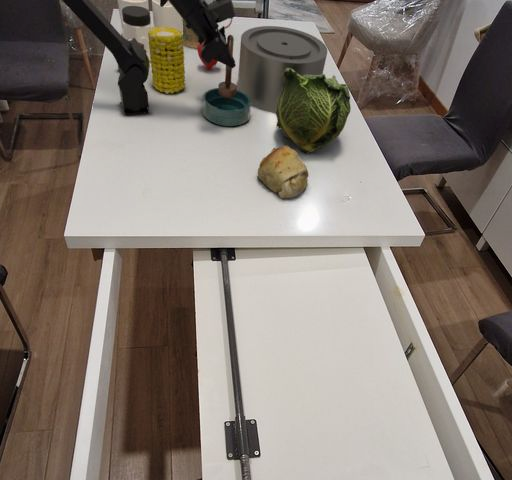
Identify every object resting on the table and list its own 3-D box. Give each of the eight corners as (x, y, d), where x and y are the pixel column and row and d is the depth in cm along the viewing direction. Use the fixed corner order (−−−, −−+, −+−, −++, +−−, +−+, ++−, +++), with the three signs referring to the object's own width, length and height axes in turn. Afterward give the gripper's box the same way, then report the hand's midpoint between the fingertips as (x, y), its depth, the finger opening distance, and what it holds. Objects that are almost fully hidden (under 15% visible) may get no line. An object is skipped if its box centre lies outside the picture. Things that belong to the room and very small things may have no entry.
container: (245, 113, 122) (250, 61, 111) (231, 73, 135) (233, 23, 124) (326, 114, 127) (338, 64, 116) (304, 75, 140) (313, 28, 130)
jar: (132, 64, 131) (127, 17, 121) (121, 53, 135) (115, 6, 125) (159, 60, 135) (155, 14, 125) (147, 49, 138) (144, 4, 128)
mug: (230, 53, 144) (232, 10, 134) (178, 46, 142) (177, 2, 133) (231, 40, 150) (234, -2, 141) (182, 33, 149) (181, -10, 139)
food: (159, 101, 123) (153, 87, 128) (197, 90, 124) (190, 76, 129) (140, 41, 110) (135, 28, 116) (183, 29, 111) (176, 17, 117)
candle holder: (123, 33, 143) (117, -12, 133) (152, 36, 145) (149, -8, 135) (120, 45, 138) (114, -1, 128) (151, 48, 139) (147, 3, 129)
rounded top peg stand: (236, 99, 114) (240, 40, 102) (217, 96, 113) (219, 37, 102) (236, 90, 116) (241, 32, 105) (218, 88, 116) (221, 29, 105)
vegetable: (318, 158, 125) (342, 82, 117) (345, 166, 109) (376, 78, 100) (256, 138, 118) (277, 56, 110) (275, 144, 102) (301, 47, 94)
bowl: (212, 130, 114) (212, 113, 111) (196, 106, 121) (196, 89, 117) (256, 125, 118) (258, 108, 115) (238, 102, 125) (240, 86, 121)
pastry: (259, 162, 108) (263, 131, 101) (307, 170, 108) (314, 140, 102) (253, 195, 100) (257, 163, 93) (305, 203, 100) (313, 173, 94)
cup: (171, 51, 139) (169, -5, 127) (185, 60, 137) (184, 3, 125) (153, 55, 136) (149, -2, 124) (167, 64, 134) (164, 7, 121)
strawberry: (220, 75, 133) (222, 38, 125) (196, 72, 133) (196, 35, 125) (221, 67, 137) (222, 31, 129) (198, 64, 136) (198, 27, 128)
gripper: (217, -6, 90) (262, 58, 100) (214, -33, 100) (255, 27, 111) (181, 34, 95) (227, 90, 105) (181, 4, 105) (223, 58, 116)
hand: (234, 65), depth 109 cm, fingers closed on rounded top peg stand
